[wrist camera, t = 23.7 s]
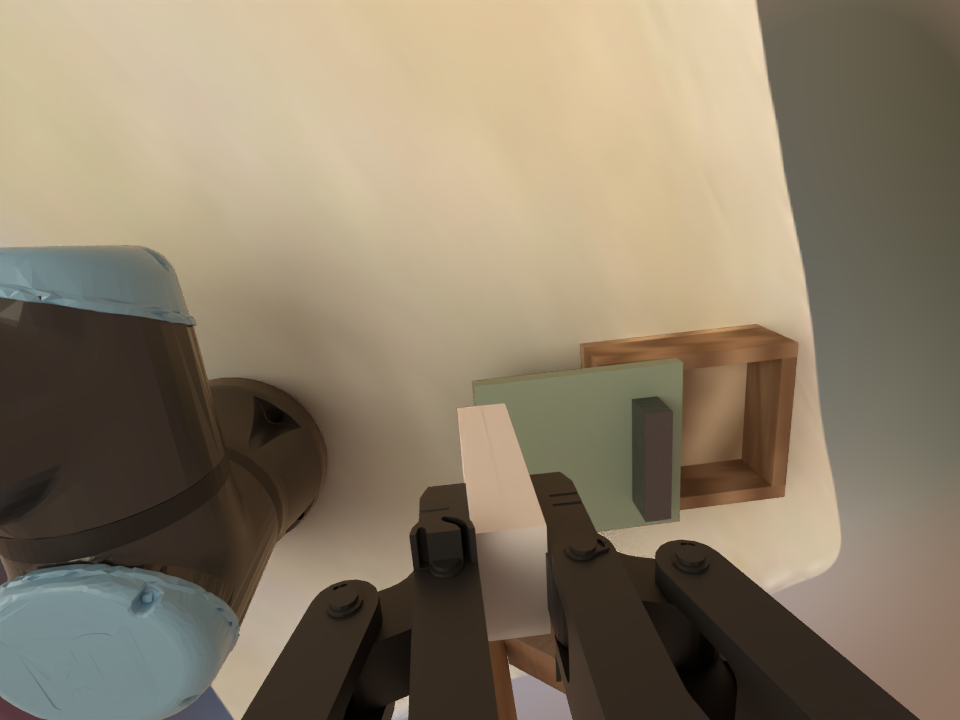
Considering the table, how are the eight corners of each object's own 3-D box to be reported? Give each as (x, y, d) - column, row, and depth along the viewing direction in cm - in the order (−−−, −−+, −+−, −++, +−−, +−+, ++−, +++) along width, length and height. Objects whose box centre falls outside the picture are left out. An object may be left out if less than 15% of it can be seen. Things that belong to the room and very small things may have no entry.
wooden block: (566, 590, 57) (624, 765, 40) (464, 613, 57) (477, 798, 40) (561, 561, 56) (618, 727, 39) (456, 584, 56) (467, 762, 39)
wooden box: (585, 483, 53) (603, 519, 48) (580, 343, 49) (599, 365, 43) (747, 463, 54) (784, 496, 48) (756, 324, 50) (798, 342, 44)
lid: (487, 536, 47) (493, 569, 43) (472, 380, 42) (476, 401, 39) (673, 512, 48) (695, 543, 44) (676, 357, 43) (701, 375, 39)
